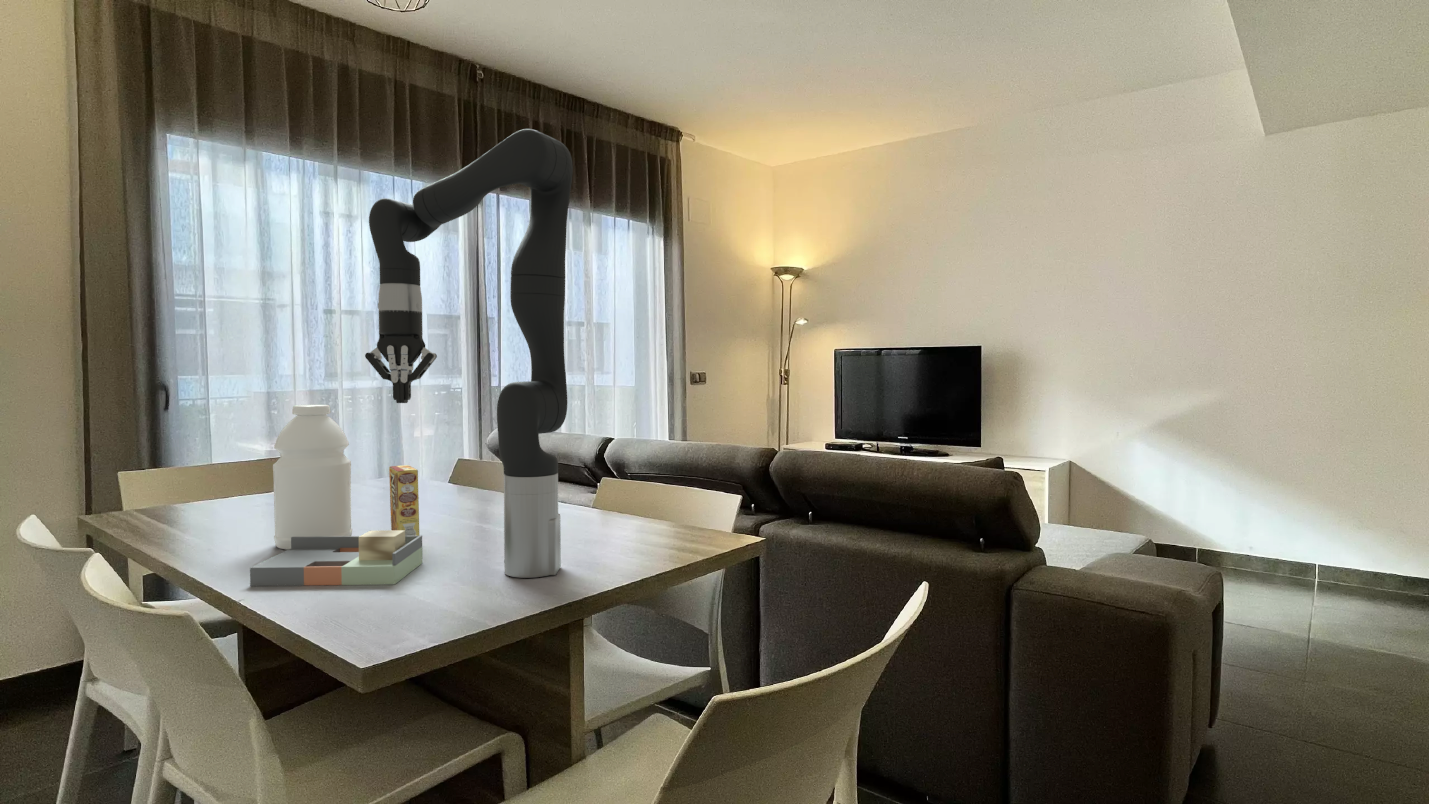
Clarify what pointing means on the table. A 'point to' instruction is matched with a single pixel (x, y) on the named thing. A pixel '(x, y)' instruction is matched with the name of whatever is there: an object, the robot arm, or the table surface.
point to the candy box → (404, 499)
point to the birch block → (380, 544)
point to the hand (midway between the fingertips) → (401, 402)
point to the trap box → (335, 563)
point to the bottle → (311, 478)
